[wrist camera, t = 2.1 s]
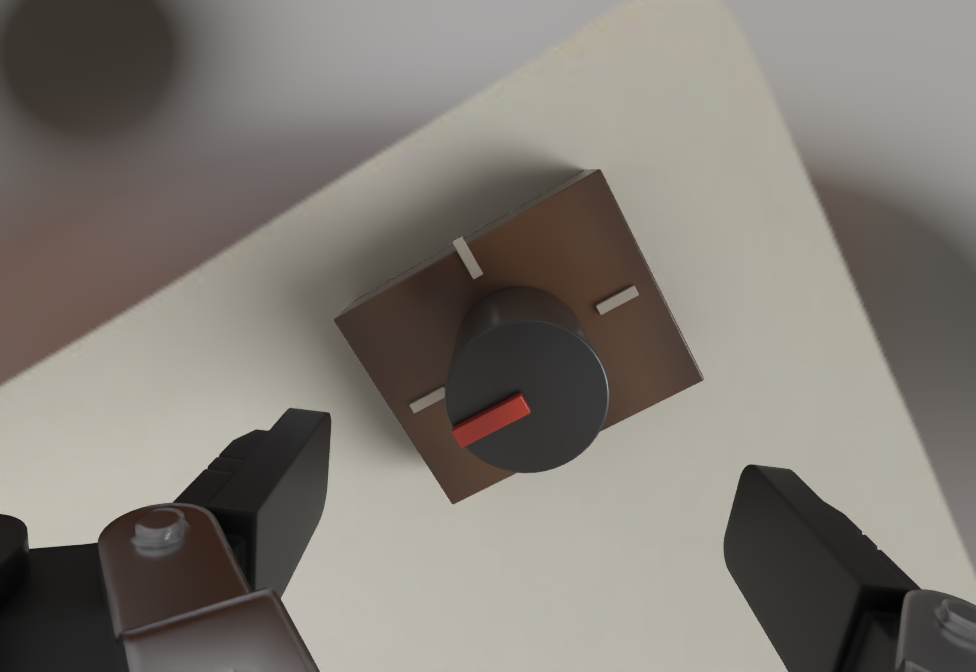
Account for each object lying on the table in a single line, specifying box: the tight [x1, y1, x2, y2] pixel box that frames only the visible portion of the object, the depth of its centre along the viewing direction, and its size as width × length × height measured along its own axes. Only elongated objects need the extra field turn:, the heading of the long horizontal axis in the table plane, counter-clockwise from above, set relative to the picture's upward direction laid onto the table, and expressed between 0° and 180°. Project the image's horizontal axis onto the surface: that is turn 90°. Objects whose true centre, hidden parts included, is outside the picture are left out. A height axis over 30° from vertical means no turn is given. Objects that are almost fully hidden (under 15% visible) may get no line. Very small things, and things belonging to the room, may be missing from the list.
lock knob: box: [445, 287, 610, 473], centre depth 18 cm, size 4×4×5 cm
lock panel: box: [334, 169, 704, 504], centre depth 22 cm, size 10×9×3 cm
